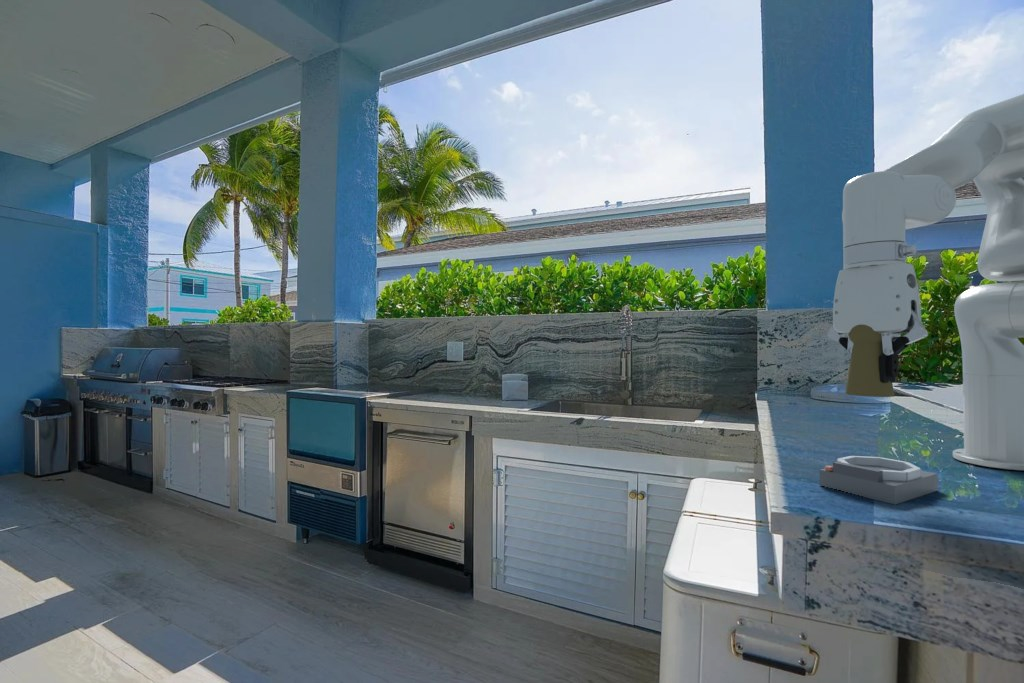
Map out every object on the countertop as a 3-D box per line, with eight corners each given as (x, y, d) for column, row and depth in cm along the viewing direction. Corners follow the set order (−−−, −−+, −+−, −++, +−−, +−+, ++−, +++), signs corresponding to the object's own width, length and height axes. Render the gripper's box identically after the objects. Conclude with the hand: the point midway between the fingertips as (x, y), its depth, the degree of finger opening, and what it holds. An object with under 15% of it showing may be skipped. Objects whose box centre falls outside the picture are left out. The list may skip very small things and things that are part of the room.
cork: (903, 397, 71) (903, 320, 71) (855, 396, 72) (855, 321, 72) (881, 392, 77) (881, 322, 77) (838, 392, 78) (838, 322, 78)
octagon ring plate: (863, 474, 81) (862, 450, 81) (937, 490, 72) (937, 463, 72) (819, 485, 76) (819, 459, 76) (895, 504, 67) (894, 475, 67)
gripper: (953, 251, 68) (954, 384, 68) (831, 267, 83) (832, 377, 83) (926, 246, 65) (927, 386, 65) (804, 264, 79) (805, 379, 79)
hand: (874, 380), depth 74 cm, fingers closed on cork, 2 cm apart
